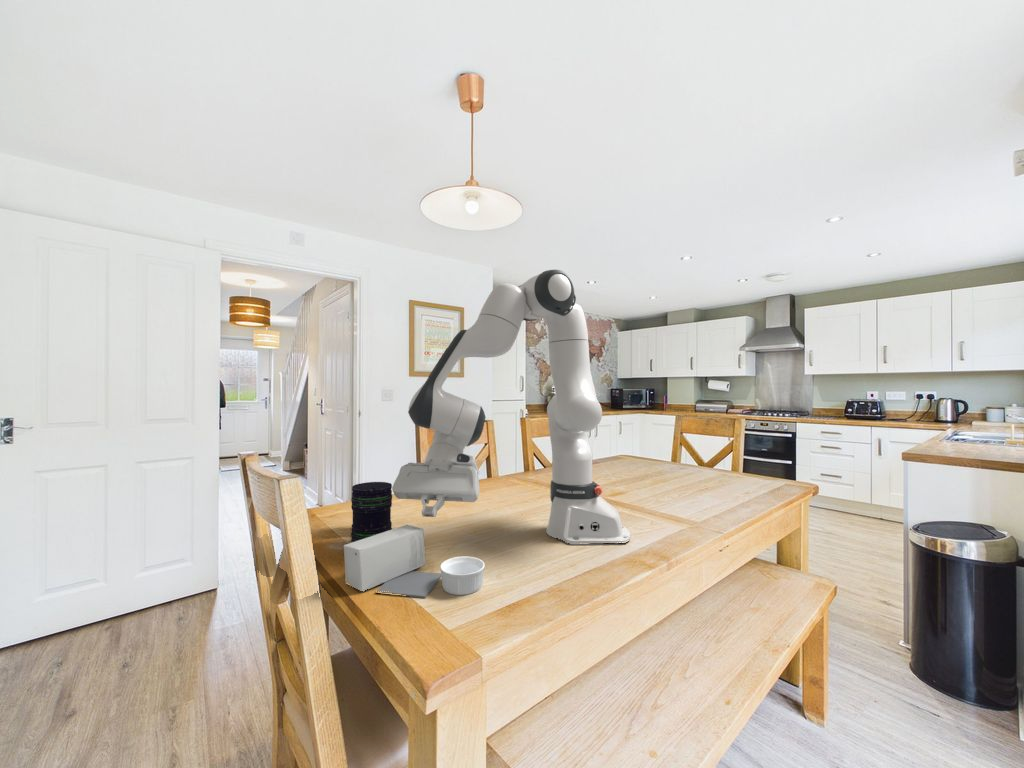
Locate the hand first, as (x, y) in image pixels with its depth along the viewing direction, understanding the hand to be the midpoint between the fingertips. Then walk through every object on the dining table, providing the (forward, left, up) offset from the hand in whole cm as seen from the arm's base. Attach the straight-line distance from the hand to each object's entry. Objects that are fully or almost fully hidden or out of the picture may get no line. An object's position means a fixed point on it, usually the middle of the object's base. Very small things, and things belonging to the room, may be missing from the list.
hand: (428, 515), depth 93 cm
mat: (+1, +8, -11) cm, 14 cm away
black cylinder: (+19, -11, -12) cm, 25 cm away
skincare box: (+3, -1, -7) cm, 8 cm away
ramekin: (-10, +7, -12) cm, 17 cm away
